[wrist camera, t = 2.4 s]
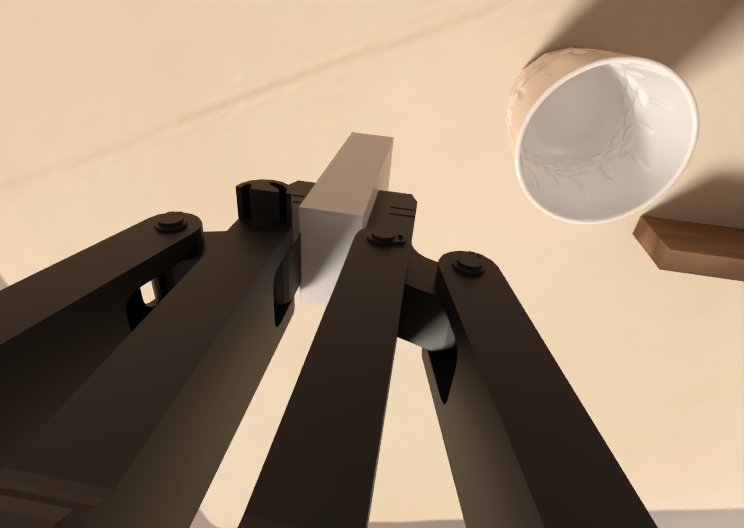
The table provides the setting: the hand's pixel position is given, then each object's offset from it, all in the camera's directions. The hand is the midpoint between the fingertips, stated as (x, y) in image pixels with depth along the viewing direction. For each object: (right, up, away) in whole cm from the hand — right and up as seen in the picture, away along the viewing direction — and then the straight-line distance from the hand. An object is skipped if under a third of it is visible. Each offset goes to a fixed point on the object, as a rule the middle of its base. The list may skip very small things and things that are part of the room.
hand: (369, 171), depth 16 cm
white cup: (+12, +7, +13) cm, 19 cm away
